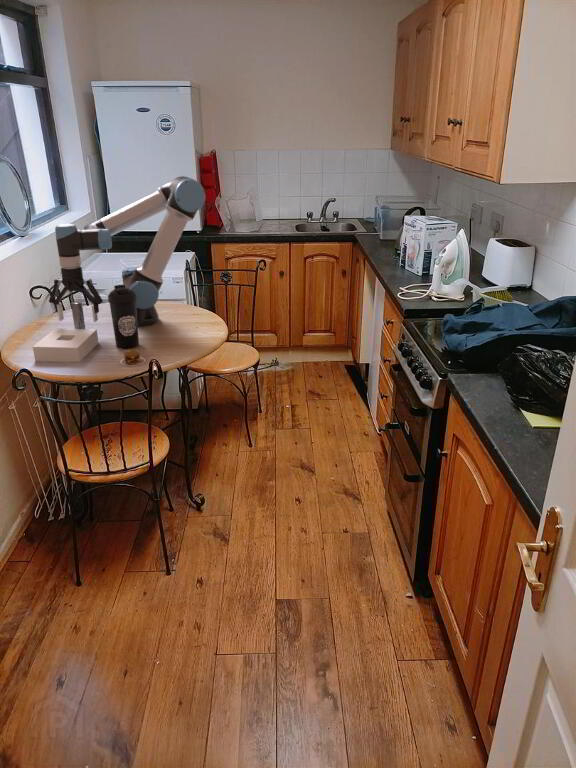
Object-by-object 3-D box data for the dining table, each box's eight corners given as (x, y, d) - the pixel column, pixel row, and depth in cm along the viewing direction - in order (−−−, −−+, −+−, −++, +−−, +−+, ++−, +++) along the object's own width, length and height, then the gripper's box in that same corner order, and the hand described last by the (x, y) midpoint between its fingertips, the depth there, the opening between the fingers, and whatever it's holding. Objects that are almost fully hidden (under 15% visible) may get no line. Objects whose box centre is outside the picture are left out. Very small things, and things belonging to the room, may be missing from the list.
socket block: (98, 342, 217) (96, 329, 215) (79, 362, 199) (77, 347, 197) (57, 341, 218) (55, 328, 215) (35, 361, 199) (32, 346, 197)
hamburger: (150, 356, 207) (149, 342, 204) (149, 369, 196) (148, 354, 194) (117, 358, 205) (115, 344, 202) (114, 371, 194) (112, 356, 192)
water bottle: (117, 351, 209) (109, 291, 199) (111, 343, 217) (104, 285, 208) (144, 347, 213) (138, 288, 204) (137, 339, 221) (131, 282, 212)
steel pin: (88, 335, 225) (83, 301, 219) (84, 338, 221) (79, 304, 215) (78, 335, 225) (73, 301, 219) (74, 338, 221) (69, 304, 215)
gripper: (106, 265, 214) (113, 318, 223) (42, 263, 215) (51, 316, 224) (100, 269, 208) (106, 324, 216) (34, 268, 208) (43, 322, 217)
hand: (78, 320), depth 220 cm, fingers open, 13 cm apart
